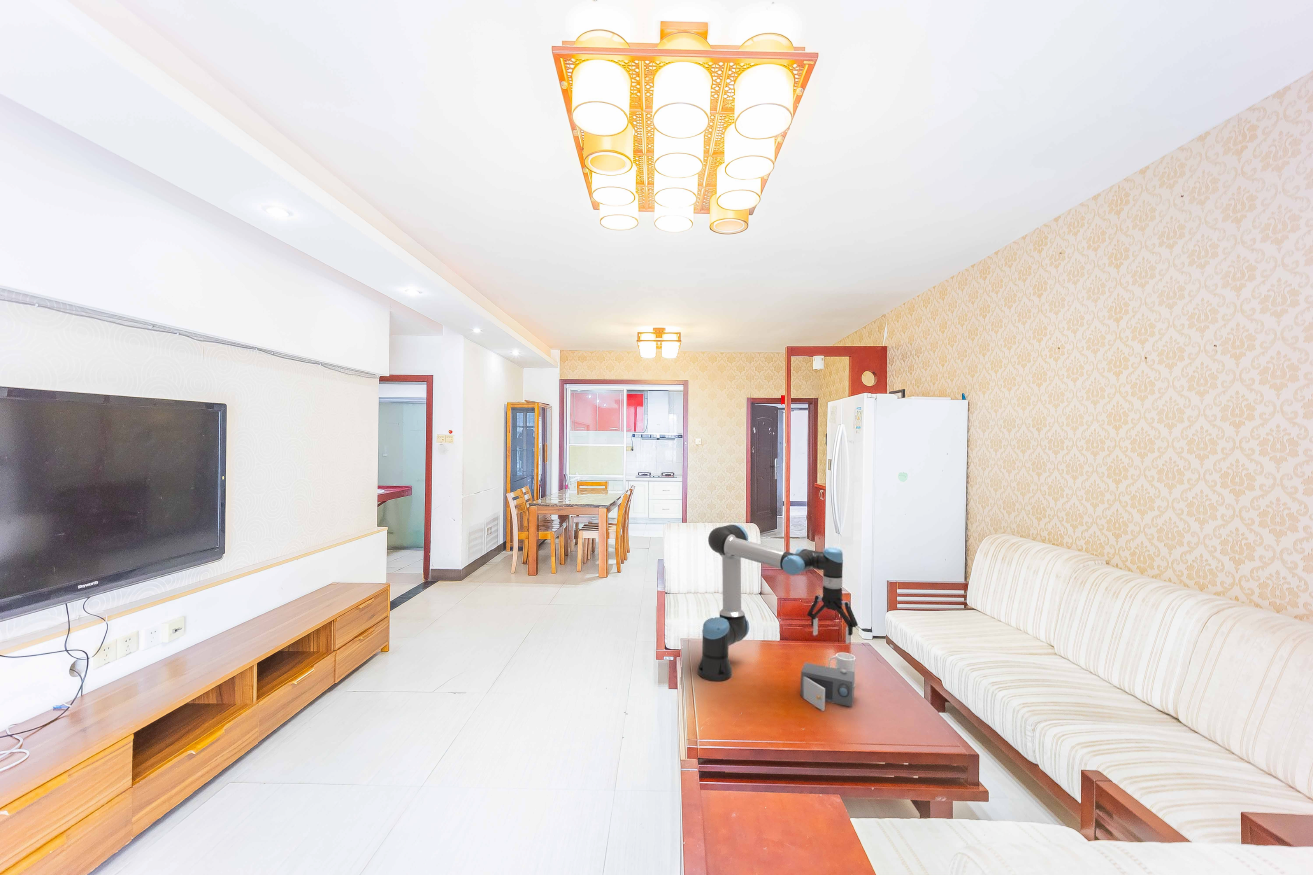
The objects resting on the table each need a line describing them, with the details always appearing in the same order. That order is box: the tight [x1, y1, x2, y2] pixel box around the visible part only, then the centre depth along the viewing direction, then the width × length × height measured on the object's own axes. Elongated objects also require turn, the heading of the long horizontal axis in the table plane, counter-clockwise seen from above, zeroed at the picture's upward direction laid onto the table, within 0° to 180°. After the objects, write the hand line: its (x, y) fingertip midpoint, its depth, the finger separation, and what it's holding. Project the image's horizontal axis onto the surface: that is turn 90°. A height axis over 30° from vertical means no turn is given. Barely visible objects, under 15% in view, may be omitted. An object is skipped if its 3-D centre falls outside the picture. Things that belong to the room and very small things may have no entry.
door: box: [801, 676, 826, 712], centre depth 214 cm, size 12×2×8 cm, turn 25°
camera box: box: [799, 662, 856, 708], centre depth 221 cm, size 20×12×11 cm, turn 65°
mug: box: [828, 652, 856, 688], centre depth 234 cm, size 12×8×12 cm
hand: (831, 638), depth 219 cm, fingers open, 13 cm apart
